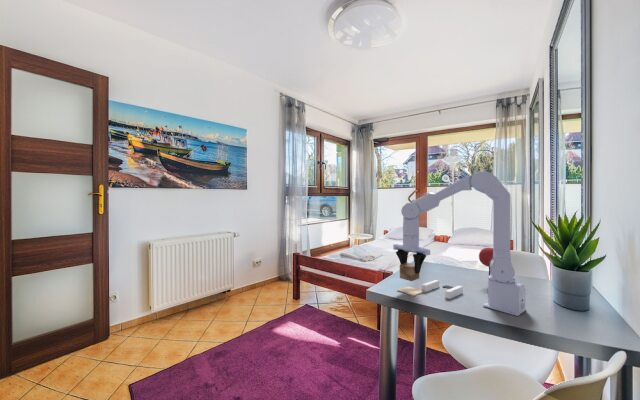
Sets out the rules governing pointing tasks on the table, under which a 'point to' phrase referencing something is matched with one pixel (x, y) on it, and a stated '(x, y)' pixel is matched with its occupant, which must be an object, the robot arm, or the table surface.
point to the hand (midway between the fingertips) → (410, 271)
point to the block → (408, 272)
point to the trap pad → (448, 287)
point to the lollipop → (486, 256)
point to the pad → (410, 291)
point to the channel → (448, 293)
